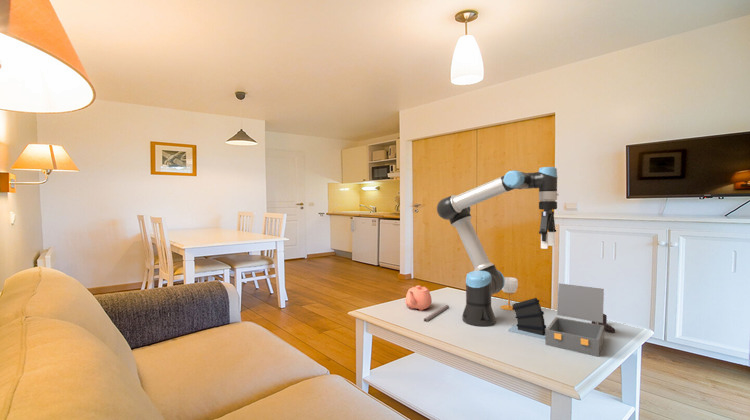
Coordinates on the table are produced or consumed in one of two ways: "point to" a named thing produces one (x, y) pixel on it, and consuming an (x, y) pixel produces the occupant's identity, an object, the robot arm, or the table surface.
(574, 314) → the lid
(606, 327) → the bracket
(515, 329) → the mat
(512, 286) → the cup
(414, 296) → the pink rounded piece
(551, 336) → the case
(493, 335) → the table surface
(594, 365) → the table surface
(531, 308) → the magazine
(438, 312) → the metal rod
